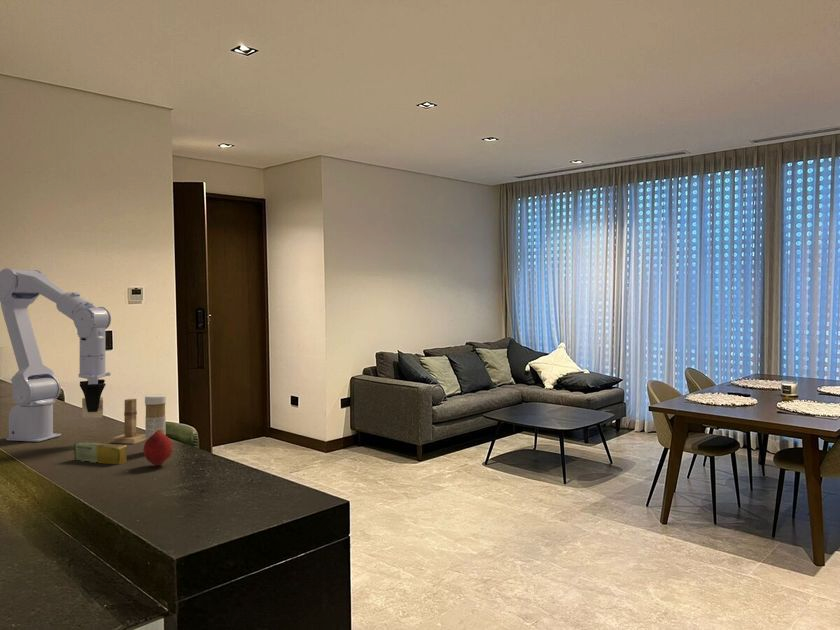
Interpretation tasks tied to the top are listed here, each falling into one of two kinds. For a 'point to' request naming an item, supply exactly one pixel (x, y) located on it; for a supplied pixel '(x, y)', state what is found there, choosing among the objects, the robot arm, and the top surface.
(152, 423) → the sprinkles bottle
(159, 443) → the onion
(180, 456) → the top surface
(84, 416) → the cube
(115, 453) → the medication box
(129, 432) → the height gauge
